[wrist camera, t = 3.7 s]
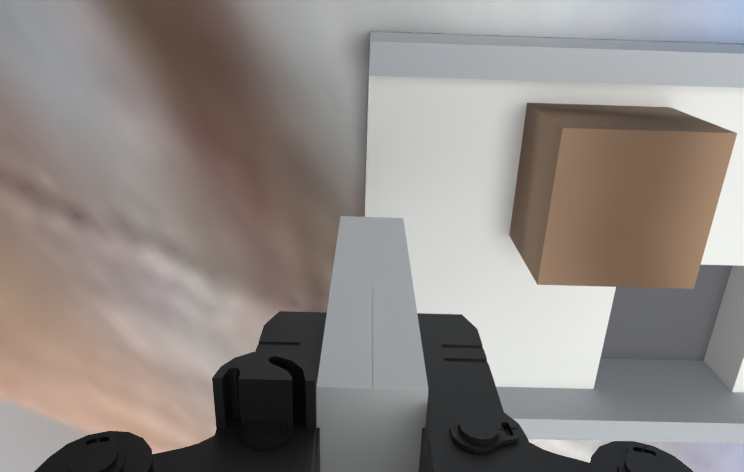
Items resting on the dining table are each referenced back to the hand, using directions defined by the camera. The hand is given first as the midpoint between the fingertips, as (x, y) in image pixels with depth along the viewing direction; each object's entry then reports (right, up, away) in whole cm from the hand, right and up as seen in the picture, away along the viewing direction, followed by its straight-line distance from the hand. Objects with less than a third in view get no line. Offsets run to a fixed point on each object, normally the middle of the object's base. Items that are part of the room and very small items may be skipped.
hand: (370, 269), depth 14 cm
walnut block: (+8, +3, +7) cm, 11 cm away
